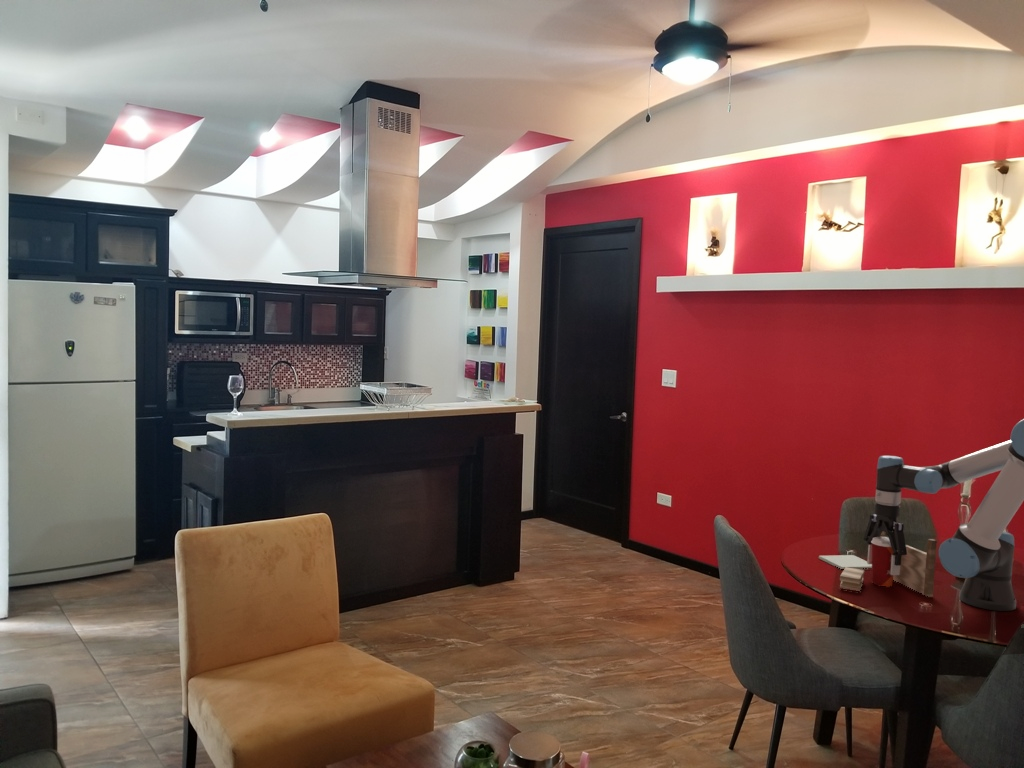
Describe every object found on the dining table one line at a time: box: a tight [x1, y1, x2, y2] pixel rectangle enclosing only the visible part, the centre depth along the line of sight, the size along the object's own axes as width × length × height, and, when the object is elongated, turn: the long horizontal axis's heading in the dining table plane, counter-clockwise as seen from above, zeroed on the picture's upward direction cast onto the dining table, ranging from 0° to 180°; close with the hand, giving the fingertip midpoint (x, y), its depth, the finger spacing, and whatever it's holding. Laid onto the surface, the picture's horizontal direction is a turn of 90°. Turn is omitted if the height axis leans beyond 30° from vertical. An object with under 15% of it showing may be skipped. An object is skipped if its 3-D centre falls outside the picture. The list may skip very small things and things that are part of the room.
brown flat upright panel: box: [879, 531, 937, 598], centre depth 261 cm, size 26×2×18 cm, turn 11°
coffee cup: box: [871, 536, 894, 588], centre depth 260 cm, size 8×8×15 cm
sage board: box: [818, 554, 872, 570], centre depth 283 cm, size 14×14×1 cm
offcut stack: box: [839, 567, 865, 592], centre depth 258 cm, size 14×7×4 cm, turn 152°
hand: (882, 569), depth 260 cm, fingers open, 11 cm apart
